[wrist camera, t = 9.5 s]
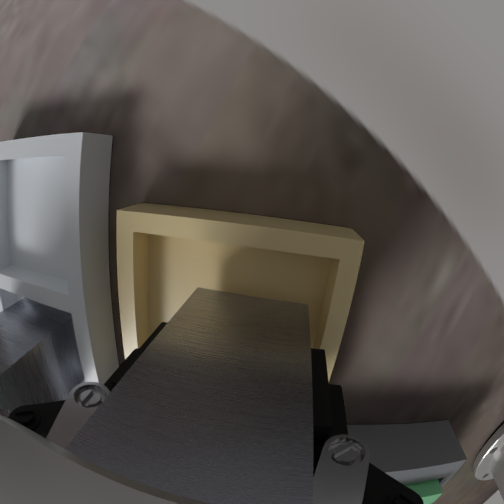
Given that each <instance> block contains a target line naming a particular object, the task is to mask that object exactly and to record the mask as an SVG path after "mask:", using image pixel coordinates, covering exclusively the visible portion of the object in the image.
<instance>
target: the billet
mask: <svg viewBox="0 0 504 504" xmlns="http://www.w3.org/2000/svg"><path fill="white" fill-rule="evenodd" d="M65 450H67V451H69V452H71V453H73V454H75V455H77V456H79V457H81V458H83V459H85V460H87V461H89V462H91V463H93V464H95V465H97V466H100V467H102V468H104V469H106V470H109V471H111V472H113V473H116V474H118V475H121V476H123V477H126V478H128V479H131V480H133V481H136V482H139V483H141V484H144V485H147V486H150V487H153V488H156V489H159V490H162V491H165V492H168V493H172V494H175V495H179V496H182V497H186V498H189V499H193V500H197V501H201V502H205V503H210V504H313V392H312V364H311V343H310V325H309V309H308V304H301V303H294V302H287V301H280V300H273V299H267V298H260V297H254V296H247V295H241V294H235V293H229V292H223V291H217V290H211V289H205V288H200V287H197V289H196V290H195V291H194V292H193V293H192V295H191V296H190V297H189V298H188V299H187V300H186V302H185V303H184V304H183V305H182V306H181V308H180V309H179V310H178V311H177V312H176V313H175V315H174V316H173V317H172V318H171V319H170V321H169V322H168V323H167V324H166V325H165V327H164V328H163V329H162V330H161V331H160V333H159V334H158V335H157V336H156V337H155V338H154V340H153V341H152V342H151V343H150V344H149V346H148V347H147V348H146V349H145V351H144V352H143V353H142V354H141V355H140V357H139V358H138V359H137V360H136V361H135V363H134V364H133V365H132V366H131V367H130V369H129V370H128V371H127V372H126V374H125V375H124V376H123V377H122V378H121V380H120V381H119V382H118V383H117V385H116V386H115V387H114V388H113V389H112V391H111V392H110V393H109V394H108V396H107V397H106V398H105V399H104V401H103V402H102V403H101V404H100V405H99V407H98V408H97V409H96V410H95V412H94V413H93V414H92V415H91V417H90V418H89V419H88V420H87V422H86V423H85V424H84V425H83V427H82V428H81V429H80V430H79V432H78V433H77V434H76V435H75V437H74V438H73V439H72V440H71V442H70V443H69V444H68V445H67V447H66V448H65Z"/></svg>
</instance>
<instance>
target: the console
mask: <svg viewBox="0 0 504 504" xmlns="http://www.w3.org/2000/svg"><path fill="white" fill-rule="evenodd" d="M347 429H348V435H352V436H355V437H358V438H359V439H361V440H363V441H364V442H365V443H366V444H367V446H368V448H369V450H370V460H369V462H370V463H371V464H373V465H374V466H376V467H377V468H379V469H380V470H382V471H383V472H385V473H386V474H388V475H389V476H391V477H392V478H394V479H395V480H397V481H399V482H400V483H402V484H410V483H417V482H423V481H428V480H434V479H438V480H439V483H440V486H441V488H442V487H443V486H444V485H445V484H446V483H447V481H448V480H449V479H450V478H451V477H452V476H453V475H454V474H455V473H456V472H457V470H458V469H459V468H460V467H461V466H462V465H463V463H464V462H465V461H466V460H467V458H466V456H465V454H464V452H463V449H462V447H461V445H460V443H459V441H458V439H457V437H456V435H455V432H454V430H453V428H452V426H451V424H450V422H449V420H443V421H433V422H422V423H408V424H385V425H347Z"/></svg>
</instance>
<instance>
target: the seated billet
mask: <svg viewBox="0 0 504 504" xmlns="http://www.w3.org/2000/svg"><path fill="white" fill-rule="evenodd" d="M84 379H85V378H84V374H83V369H82V365H81V361H80V356H79V352H78V347H77V342H76V337H75V332H74V326H73V320H72V314H71V313H69V312H66V311H63V310H60V309H57V308H53V307H50V306H47V305H45V304H42V303H39V302H36V301H33V300H30V299H27V298H23V299H21V300H20V301H18V302H16V303H15V304H13V305H11V306H10V307H8V308H7V309H5V310H3V311H2V312H0V409H6V410H9V412H10V413H11V412H12V411H13V410H14V409H16V408H17V407H19V406H24V405H31V404H40V403H47V402H54V401H61V400H66V399H67V397H68V395H69V393H70V391H71V390H72V389H73V388H74V387H75V386H76V385H78V384H80V383H81V382H82V381H83V380H84Z"/></svg>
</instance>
